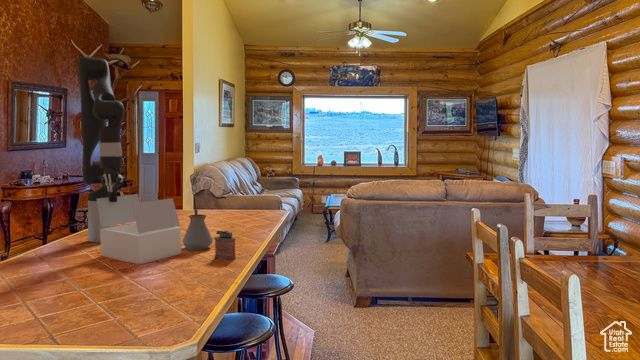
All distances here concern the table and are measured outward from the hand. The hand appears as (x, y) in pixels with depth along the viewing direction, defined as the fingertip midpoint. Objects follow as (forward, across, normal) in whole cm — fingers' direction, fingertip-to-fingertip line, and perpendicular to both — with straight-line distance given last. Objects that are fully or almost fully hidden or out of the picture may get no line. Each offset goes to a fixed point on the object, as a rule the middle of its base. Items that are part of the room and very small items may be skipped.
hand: (113, 201), depth 177 cm
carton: (+20, +10, +3) cm, 22 cm away
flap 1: (+3, -1, +3) cm, 5 cm away
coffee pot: (+20, +16, +26) cm, 36 cm away
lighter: (+20, +40, +17) cm, 48 cm away
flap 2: (+4, +20, +3) cm, 20 cm away
